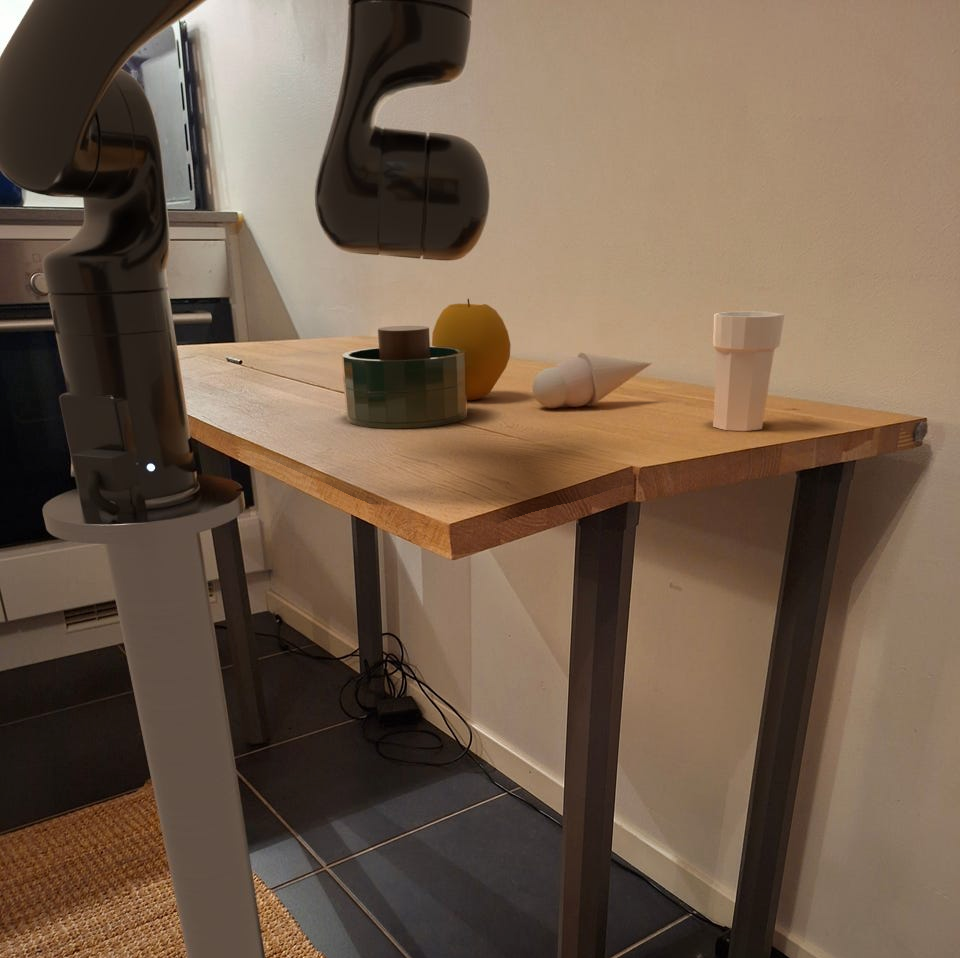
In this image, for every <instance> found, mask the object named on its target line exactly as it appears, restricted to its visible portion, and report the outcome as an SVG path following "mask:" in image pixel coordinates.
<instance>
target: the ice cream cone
mask: <svg viewBox="0 0 960 958" xmlns="http://www.w3.org/2000/svg"><path fill="white" fill-rule="evenodd" d="M652 364H653V363H652V362H647V361H641V360H634V359H633V360H632V359H626V358H621V357H613V356H605V355H601V354H593V353H586V352H580V353H579V354H578V355H577V356H576V357H574V356H573V357H569V358H565V359H563V360H562V361H560V362H559V363H558V364H557V365H556V366H551V367H547V368H544V369H542V370H541V371H540V372H538V373H537V374H536V376H535V378H534V380H533V381H532V382H533V383H532V393H533V397H534V399H535V400H536V401H537V403H538V404H539V405H541V406H542V407H545V408H547V409H555V408H556V409H557V408H559V407H562V406H565V407H569V408H578V407H582V406H585V405H588V406H590V407H591V406H594V405H595V404H596V403H598V402H599V401H601V400H602V399H605V397H607V396H608V395H610V394H611V393H613V391H615V390H617V389H618V388H620V387H621V386H622V385H623V384H625V383H626V382H628V381H629V380H631V379H632V378H634V377H635V376H636V375H638V374H639V373H641V372H642V371H644V370H645V369H647V368H648V367H649V366H651V365H652Z"/></svg>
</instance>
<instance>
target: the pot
mask: <svg viewBox="0 0 960 958" xmlns="http://www.w3.org/2000/svg"><path fill="white" fill-rule="evenodd" d="M341 367H342V379H343V380H342V381H343V391H344V404H345V414H346V420H347V422H348V423H350V424H353V425H355V426H360V427H365V428H372V429H373V428H374V429H394V430H395V429H396V430H398V429H402V430H403V429H421V428H430V427H431V428H432V427H439V426H445V425H450V424H454V423H457V422H460V421H462V420H465V419H466V418H467V416H468V400H467V371H466V351H465V350H463V349H459V348H453V347H441V346H432V345H430V358H425V359H408V360H380V356H379V347H370V348H360V349H355V350H350V351H346V352H344V353H342V354H341Z"/></svg>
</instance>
